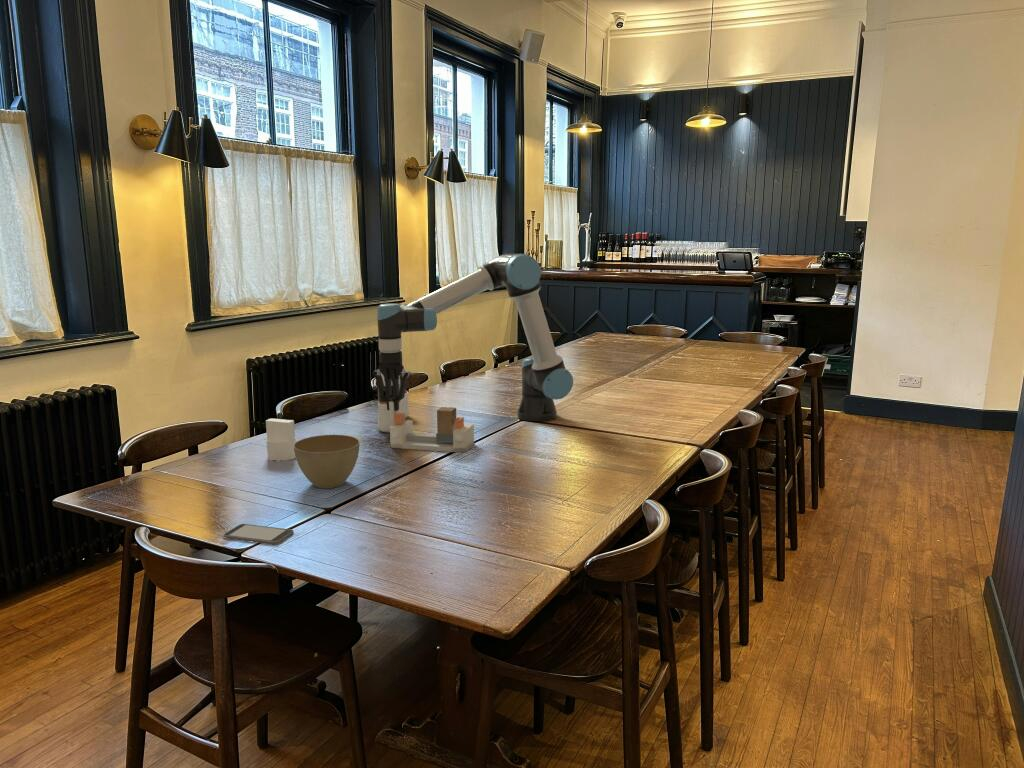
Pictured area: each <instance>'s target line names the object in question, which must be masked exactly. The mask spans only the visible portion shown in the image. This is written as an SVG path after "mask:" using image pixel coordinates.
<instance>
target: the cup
mask: <svg viewBox="0 0 1024 768" xmlns="http://www.w3.org/2000/svg"><path fill="white" fill-rule="evenodd" d="M400 402H401V413H405V419H407V418H408V417H409V415H410V404H409V391H408V390H407V389H406V390H405V396H404V398H403V399H402V400H401V401H400Z"/></svg>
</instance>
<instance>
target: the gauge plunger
mask: <svg viewBox="0 0 1024 768" xmlns="http://www.w3.org/2000/svg"><path fill="white" fill-rule="evenodd" d="M394 418H395V424H399V425H400V424H402V423H403V422H405V420H406V418H405V413H398V414H396V415H394Z"/></svg>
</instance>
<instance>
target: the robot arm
mask: <svg viewBox="0 0 1024 768" xmlns="http://www.w3.org/2000/svg"><path fill="white" fill-rule="evenodd" d="M541 277H542V270H541V265H540V264H539V262H538V261H537V260H536V259H535V258H534V257H533V256H531V255H529V254H526V253H512V252H511V253H510V252H507V253H504V254H501V255H499V256H497V257H495V258H493V259H491V260H490V261H488V262H486V263H484V264H482V265H480V266H478V269H477V270H476V271H475V272H472V273H470V274H468V275H466V276H464V277H461V278H460V279H458V280H455V281H453V282H452V283H449V284H448V285H447V284H446V286H443V287H440V288H439V289H437V290H435V291H433V292H431V293H429V294H427V295H424V296H422V297H421V298H419V299H417V300H415V301H412V302H410V303H406V304H402V305H400V304H399V303H381V304H379V305H378V306H377V315H376V316H377V317H376V320H377V333H378V336H377V337H378V350H379V353H378V355H379V356H378V359H379V366H378V368H377V369H375V370H374V371H372V375H373V377H374V378H375V381H376V384H377V390H378V389H379V393H380V397H381V399H384V400H386V402H387V410H389V413H390V421H395V418H394V415H396V414H397V411H398V410H399V400H402V399H403V398H404V396H405V390H406V391H407V384H408V381H409V380H408V379H409V378H410V376H411V372H410V371H407V370H406V369H405V368H404V365H403V351H402V350H403V348H402V347H403V345H402V342H403V341H402V333H412V332H429V331H434V330H436V328H437V326H438V325H437V324H438V316H437V315H438V314H440V313H442V312H445V311H446V310H448V309H450V308H452V307H455V306H457V305H458V304H461V303H463V302H464V301H467V300H468V299H471V298H473V297H474V296H477V295H479V294H481V293H483V292H485V291H488V290H489V291H493V290H495V289H498V288H501V287H505V288H506V291H507V293H508V297H509V298H510V299H512V300H514V302H515V304H516V308H517V312H518V315H519V317H520V320H521V323H522V327H523V330H524V334H525V336H526V339H527V343H528V346H529V350H530V352H531V356H532V357H530V358H524V359H523V360H522V362H521V399H520V402H519V405H518V409H517V417H518V419H520V420H523V421H528V422H547V421H552V420H554V419H556V418H557V415H558V411H557V407H556V405H555V404H556V403H555V402H554V400H561V399H564V398H565V397H567V396H569V394H570V393H571V391H572V389H573V387H574V377H573V375H572V373H571V372H570V371H569V370H568V369H566V366H565V363H564V359H563V357H562V356H560V355H559V354H557V351H556V347H555V345H554V340H553V337H552V334H551V330H550V328H549V325H548V320H547V318H546V314H545V312H544V311H545V310H544V307H543V304H542V301H541V298H540V295H539V291H540V290H541V288H542V286H541V281H540V279H541ZM381 373H382V374H383V376H384V381H385V387H384V383H383V379H382V376H381ZM399 376H400V377H402V378H401V379H400V391H399ZM391 380H392V384H391ZM392 387H393V398H392ZM392 399H393V400H392Z"/></svg>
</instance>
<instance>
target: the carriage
mask: <svg viewBox="0 0 1024 768" xmlns="http://www.w3.org/2000/svg"><path fill="white" fill-rule="evenodd" d="M455 419H457V407H450V406H449V407H448V406H441V407H439V408H438V409H436V422H437V423H436V425H437V426H436V429H437V430H436V431H437V432H436V434H435V435H436V442H440V443H453V431H454V430H455Z"/></svg>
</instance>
